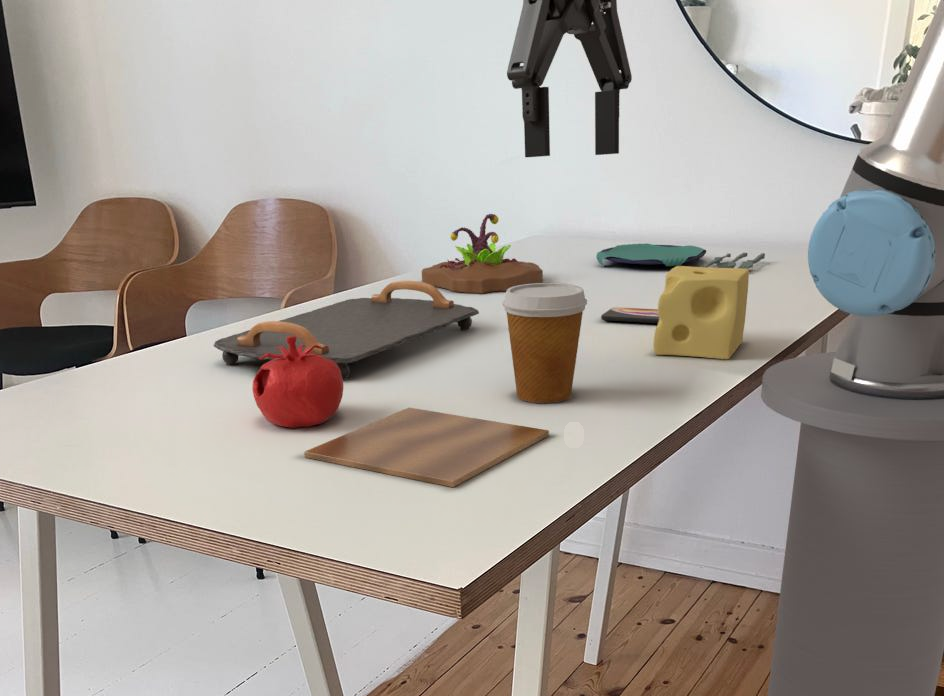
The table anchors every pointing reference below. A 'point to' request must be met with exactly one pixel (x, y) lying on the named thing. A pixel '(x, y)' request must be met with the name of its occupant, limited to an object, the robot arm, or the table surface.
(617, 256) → the cutlery set
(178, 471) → the table surface
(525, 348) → the disposable coffee cup
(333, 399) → the pomegranate
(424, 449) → the wooden board
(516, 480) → the table surface
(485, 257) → the plant
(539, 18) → the robot arm
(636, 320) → the smartphone
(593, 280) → the table surface
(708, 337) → the cheese
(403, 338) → the serving tray
